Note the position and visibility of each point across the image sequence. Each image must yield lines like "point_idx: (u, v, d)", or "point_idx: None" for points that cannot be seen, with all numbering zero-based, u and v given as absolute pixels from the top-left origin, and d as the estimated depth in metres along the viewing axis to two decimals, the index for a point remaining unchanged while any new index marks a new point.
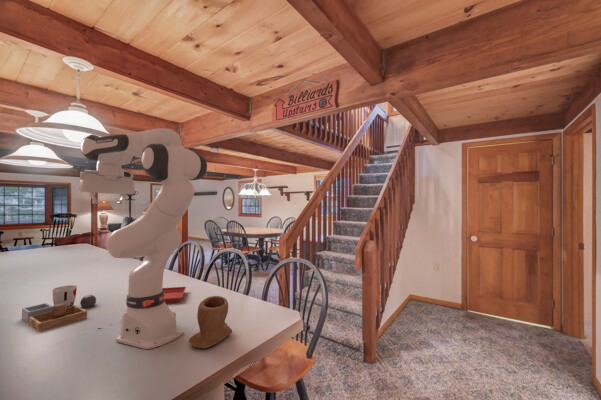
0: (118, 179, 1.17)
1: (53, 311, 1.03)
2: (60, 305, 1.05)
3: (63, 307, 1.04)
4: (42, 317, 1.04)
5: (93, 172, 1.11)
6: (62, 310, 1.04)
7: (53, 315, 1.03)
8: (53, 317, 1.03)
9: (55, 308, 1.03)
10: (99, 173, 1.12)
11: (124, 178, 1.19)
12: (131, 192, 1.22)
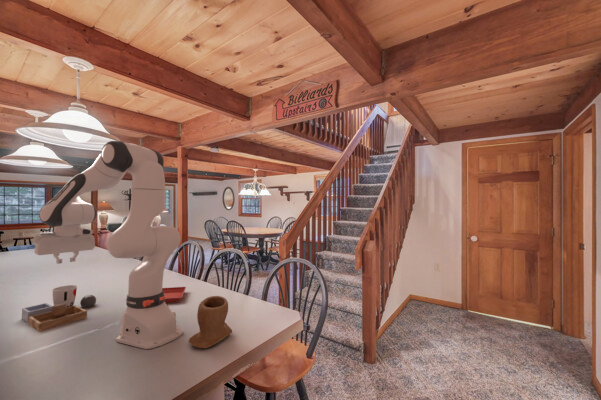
0: (77, 237, 1.19)
1: (53, 311, 1.03)
2: (60, 305, 1.05)
3: (63, 307, 1.04)
4: (42, 317, 1.04)
5: (49, 234, 1.12)
6: (62, 310, 1.04)
7: (53, 315, 1.03)
8: (53, 317, 1.03)
9: (55, 308, 1.03)
10: (56, 234, 1.13)
11: (83, 235, 1.20)
12: (91, 248, 1.24)
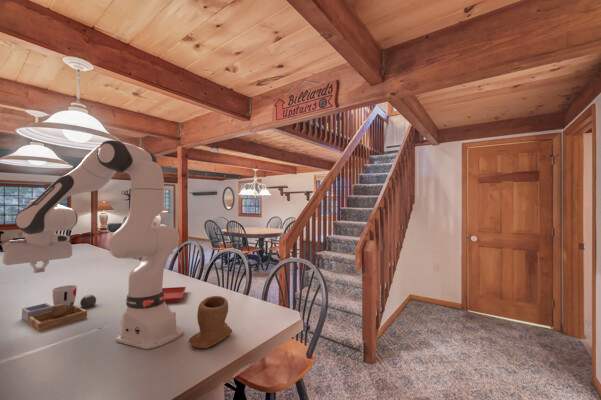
0: (51, 245, 1.09)
1: (53, 311, 1.03)
2: (60, 305, 1.05)
3: (63, 307, 1.04)
4: (42, 317, 1.04)
5: (20, 241, 1.02)
6: (62, 310, 1.04)
7: (53, 315, 1.03)
8: (53, 317, 1.03)
9: (55, 308, 1.03)
10: (27, 242, 1.04)
11: (58, 243, 1.11)
12: (68, 256, 1.14)
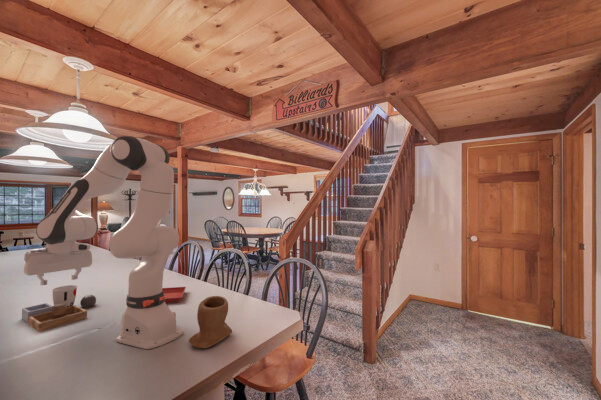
0: (72, 253, 1.07)
1: (53, 311, 1.03)
2: (60, 305, 1.05)
3: (63, 307, 1.04)
4: (42, 317, 1.04)
5: (41, 251, 1.00)
6: (62, 310, 1.04)
7: (53, 315, 1.03)
8: (53, 317, 1.03)
9: (55, 308, 1.03)
10: (48, 251, 1.01)
11: (79, 251, 1.08)
12: (88, 265, 1.12)
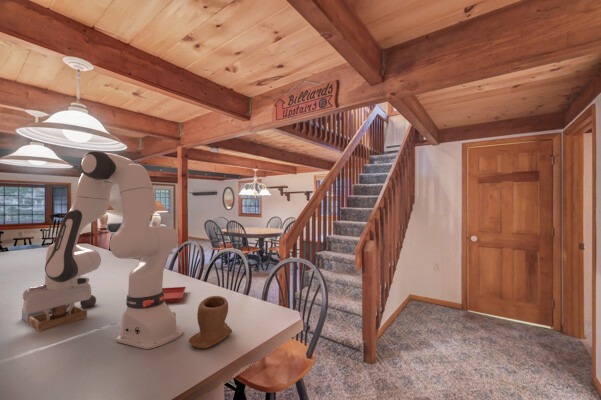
0: (71, 288, 1.06)
1: (53, 311, 1.03)
2: None
3: (63, 307, 1.04)
4: (42, 317, 1.04)
5: (40, 288, 1.00)
6: (62, 310, 1.04)
7: (53, 315, 1.03)
8: (53, 317, 1.03)
9: (55, 308, 1.03)
10: (47, 288, 1.01)
11: (78, 286, 1.08)
12: (87, 298, 1.11)
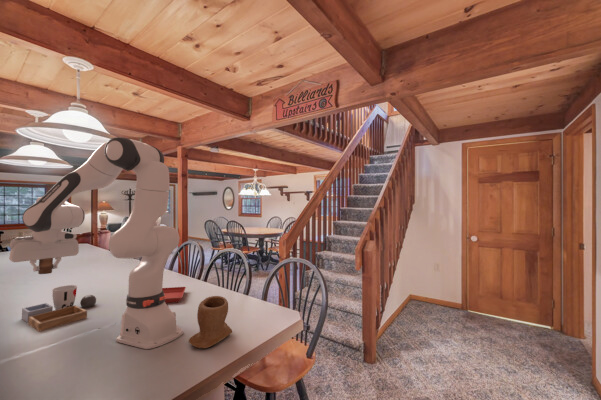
0: (58, 242, 1.08)
1: (40, 263, 1.05)
2: None
3: (50, 260, 1.07)
4: (42, 317, 1.04)
5: (27, 238, 1.02)
6: (49, 263, 1.06)
7: (40, 267, 1.05)
8: (40, 269, 1.05)
9: (42, 260, 1.05)
10: (34, 239, 1.03)
11: (65, 240, 1.10)
12: (74, 253, 1.13)
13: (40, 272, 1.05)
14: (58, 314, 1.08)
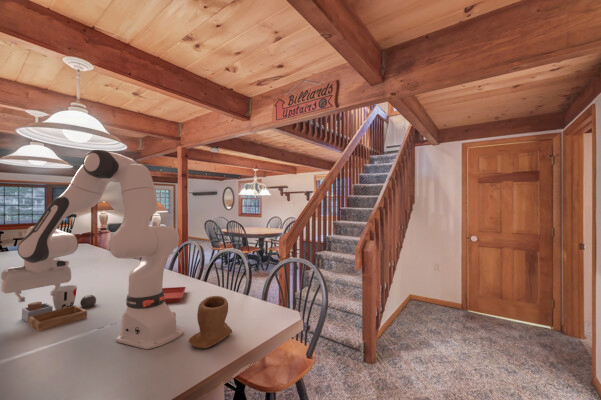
0: (50, 270, 1.09)
1: (29, 309, 1.04)
2: (35, 303, 1.06)
3: (39, 305, 1.06)
4: (42, 317, 1.04)
5: (18, 269, 1.02)
6: (38, 308, 1.06)
7: None
8: None
9: (31, 306, 1.04)
10: (26, 269, 1.03)
11: (57, 268, 1.10)
12: (67, 280, 1.14)
13: None
14: (58, 314, 1.08)
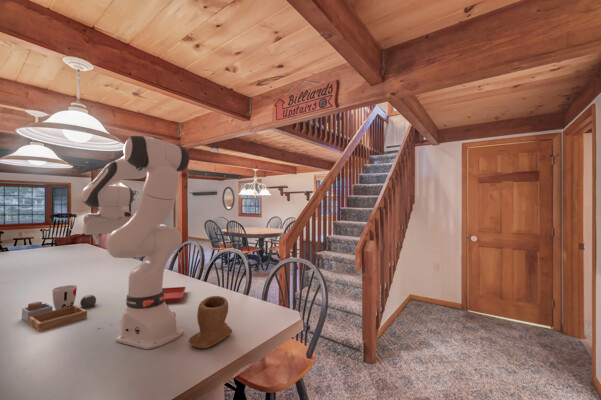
0: (119, 219, 1.26)
1: (29, 309, 1.04)
2: (36, 303, 1.06)
3: (39, 305, 1.06)
4: (42, 317, 1.04)
5: (96, 215, 1.19)
6: (39, 308, 1.06)
7: None
8: None
9: (31, 306, 1.04)
10: (101, 216, 1.20)
11: (125, 218, 1.27)
12: None
13: None
14: (58, 314, 1.08)
